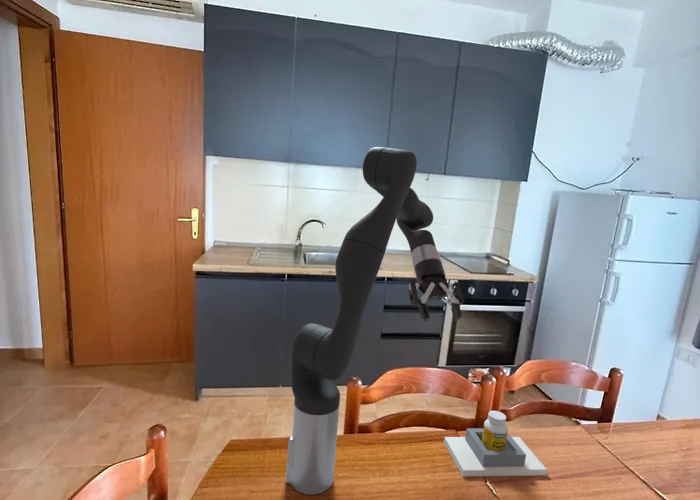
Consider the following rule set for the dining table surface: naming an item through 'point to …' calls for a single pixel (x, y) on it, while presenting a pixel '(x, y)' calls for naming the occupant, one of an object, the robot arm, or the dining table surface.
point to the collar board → (492, 456)
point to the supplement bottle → (495, 431)
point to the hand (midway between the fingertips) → (442, 319)
